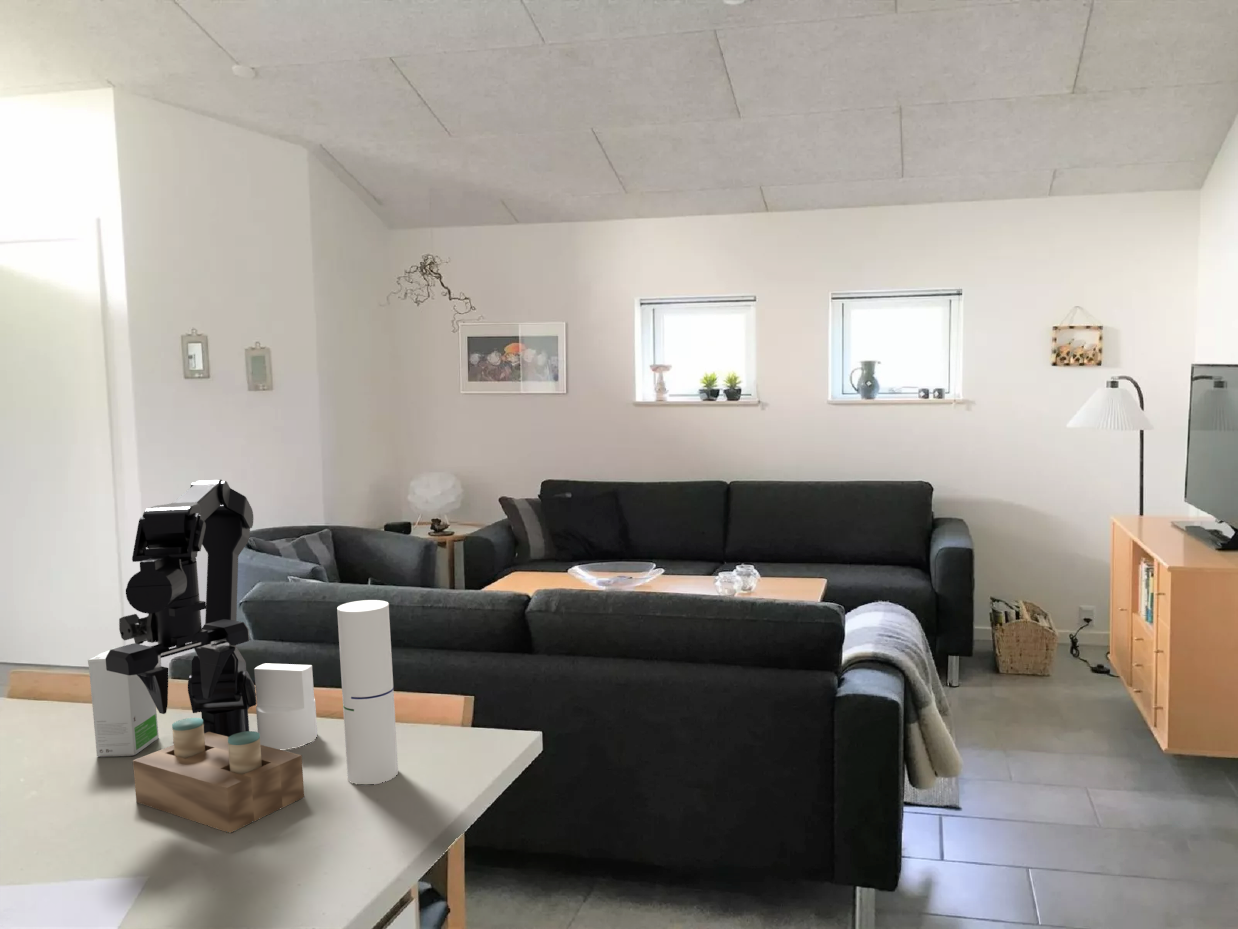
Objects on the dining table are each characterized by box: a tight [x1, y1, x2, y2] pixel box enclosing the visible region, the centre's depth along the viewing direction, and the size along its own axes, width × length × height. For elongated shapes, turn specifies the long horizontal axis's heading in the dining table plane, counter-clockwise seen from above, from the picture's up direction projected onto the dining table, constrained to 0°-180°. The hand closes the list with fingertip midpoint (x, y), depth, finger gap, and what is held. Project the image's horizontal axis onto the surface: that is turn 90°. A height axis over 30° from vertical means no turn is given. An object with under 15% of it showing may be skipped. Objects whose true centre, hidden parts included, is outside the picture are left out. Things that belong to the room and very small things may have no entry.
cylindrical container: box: [336, 599, 399, 785], centre depth 142 cm, size 7×7×25 cm
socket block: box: [132, 732, 305, 834], centre depth 137 cm, size 12×20×6 cm, turn 59°
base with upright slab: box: [253, 662, 318, 750], centre depth 158 cm, size 9×9×12 cm
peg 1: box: [171, 717, 205, 759], centre depth 139 cm, size 4×4×6 cm
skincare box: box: [87, 646, 160, 758], centre depth 157 cm, size 8×7×16 cm
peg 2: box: [228, 730, 262, 775], centre depth 133 cm, size 4×4×6 cm
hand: (185, 705), depth 139 cm, fingers open, 7 cm apart
